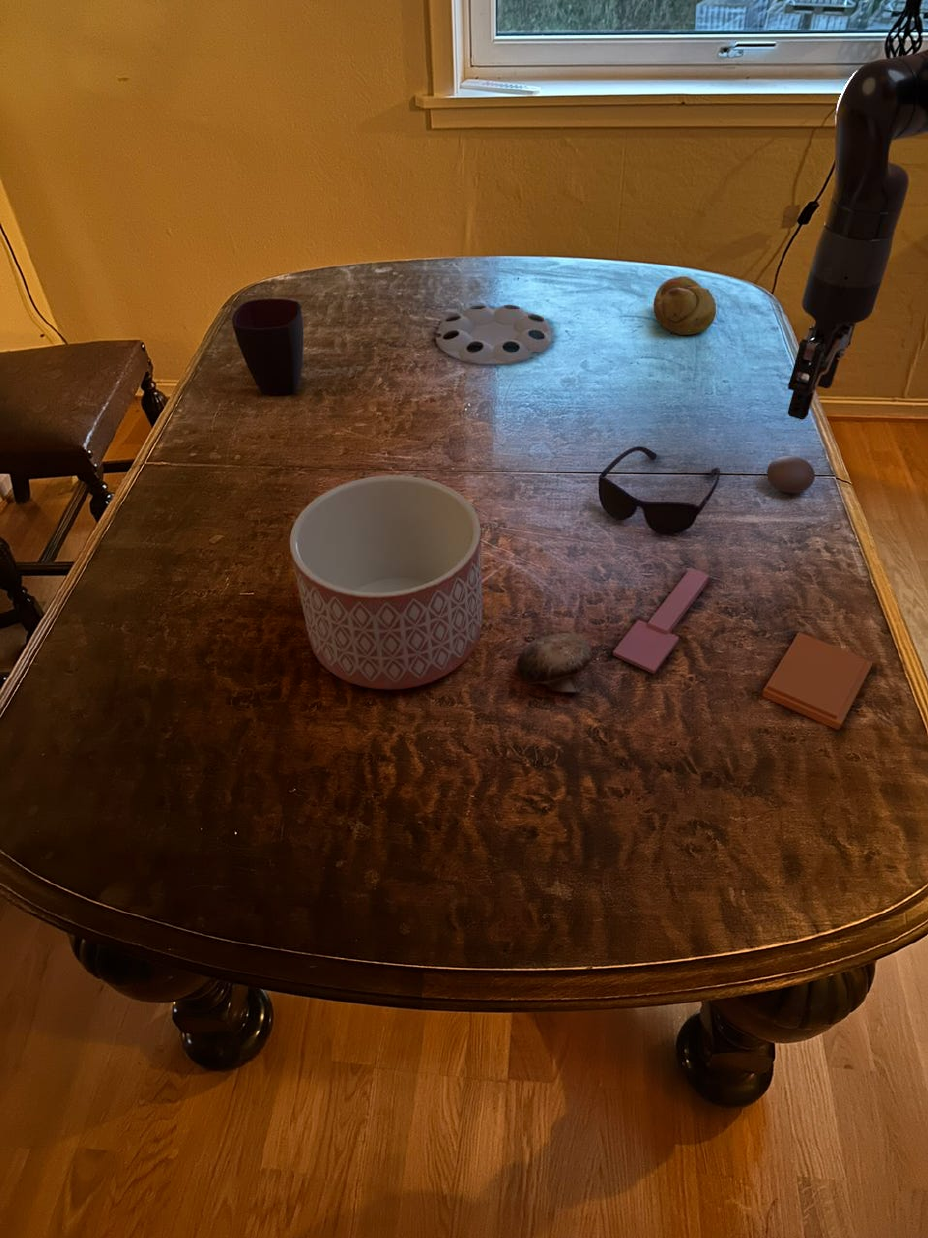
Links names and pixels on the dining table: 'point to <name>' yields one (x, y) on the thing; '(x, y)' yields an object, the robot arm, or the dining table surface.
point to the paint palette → (493, 334)
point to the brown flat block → (817, 680)
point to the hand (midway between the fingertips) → (809, 400)
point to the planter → (390, 580)
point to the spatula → (660, 626)
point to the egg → (790, 474)
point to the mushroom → (554, 661)
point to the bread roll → (684, 306)
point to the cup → (271, 343)
